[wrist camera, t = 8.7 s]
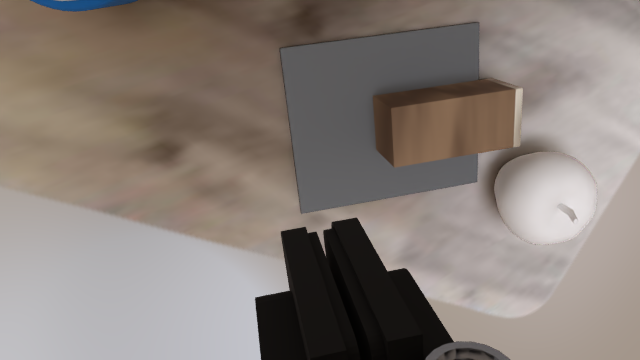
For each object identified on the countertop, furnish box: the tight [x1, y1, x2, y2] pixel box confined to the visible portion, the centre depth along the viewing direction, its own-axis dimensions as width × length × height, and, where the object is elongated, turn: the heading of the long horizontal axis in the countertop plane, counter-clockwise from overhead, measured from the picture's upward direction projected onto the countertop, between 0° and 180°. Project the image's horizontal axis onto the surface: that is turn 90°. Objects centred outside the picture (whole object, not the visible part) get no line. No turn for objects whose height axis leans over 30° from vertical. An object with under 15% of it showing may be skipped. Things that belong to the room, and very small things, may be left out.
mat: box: [280, 22, 479, 214], centre depth 36 cm, size 14×12×1 cm
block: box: [373, 78, 523, 168], centre depth 35 cm, size 4×4×9 cm
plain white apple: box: [494, 151, 597, 245], centre depth 37 cm, size 7×7×8 cm
